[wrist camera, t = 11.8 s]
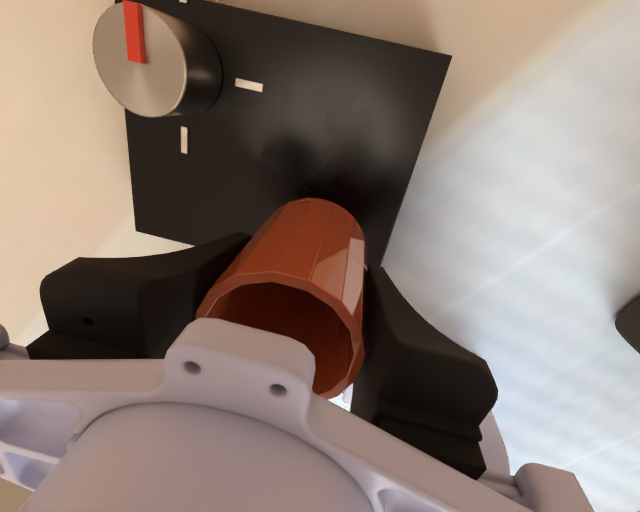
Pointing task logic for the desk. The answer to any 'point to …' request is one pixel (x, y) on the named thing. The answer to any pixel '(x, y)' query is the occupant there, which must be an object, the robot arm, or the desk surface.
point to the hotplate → (284, 129)
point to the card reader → (630, 324)
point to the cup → (302, 287)
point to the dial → (155, 61)
